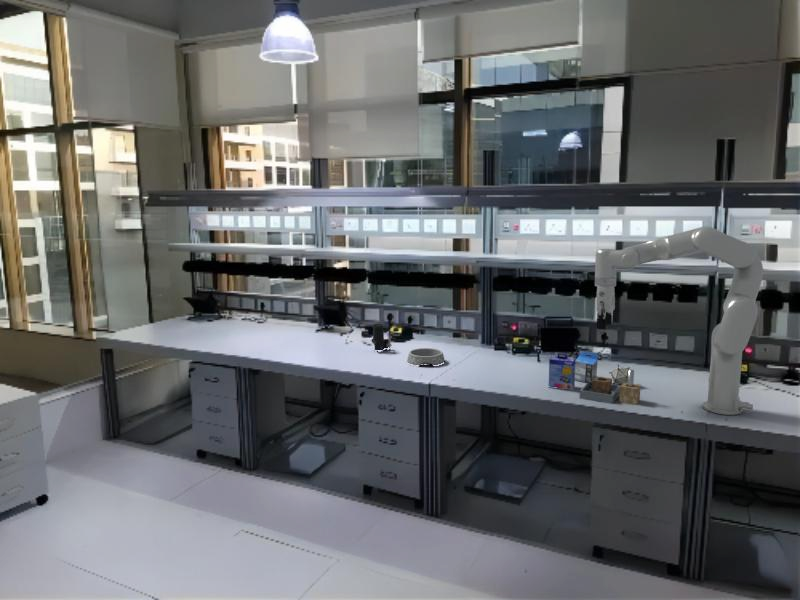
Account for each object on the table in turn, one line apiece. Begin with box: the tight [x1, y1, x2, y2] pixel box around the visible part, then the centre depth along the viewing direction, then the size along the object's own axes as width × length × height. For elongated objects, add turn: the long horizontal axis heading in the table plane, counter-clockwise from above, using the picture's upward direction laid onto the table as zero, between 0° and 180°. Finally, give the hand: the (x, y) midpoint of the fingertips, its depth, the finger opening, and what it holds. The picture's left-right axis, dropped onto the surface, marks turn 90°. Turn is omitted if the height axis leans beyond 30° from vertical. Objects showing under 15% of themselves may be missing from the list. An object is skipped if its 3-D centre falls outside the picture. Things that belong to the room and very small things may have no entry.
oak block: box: [619, 383, 641, 406], centre depth 217 cm, size 6×6×6 cm
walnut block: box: [592, 376, 613, 395], centre depth 224 cm, size 6×6×6 cm
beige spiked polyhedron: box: [608, 364, 631, 386], centre depth 237 cm, size 9×8×10 cm
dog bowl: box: [406, 347, 446, 367], centre depth 275 cm, size 17×18×5 cm
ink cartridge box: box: [548, 353, 577, 391], centre depth 234 cm, size 10×6×14 cm, turn 67°
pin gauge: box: [627, 368, 635, 387], centre depth 217 cm, size 2×2×12 cm
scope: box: [371, 323, 392, 351], centre depth 297 cm, size 8×14×10 cm
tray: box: [579, 381, 621, 404], centre depth 224 cm, size 12×14×3 cm
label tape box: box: [575, 350, 599, 384], centre depth 242 cm, size 9×4×12 cm, turn 40°
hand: (604, 326), depth 220 cm, fingers open, 9 cm apart
